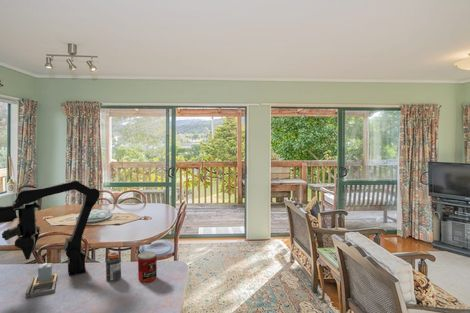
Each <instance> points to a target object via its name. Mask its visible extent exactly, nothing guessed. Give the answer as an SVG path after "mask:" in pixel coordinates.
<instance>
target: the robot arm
mask: <svg viewBox="0 0 470 313" xmlns="http://www.w3.org/2000/svg"><path fill="white" fill-rule="evenodd" d="M73 190H74V191H77V192H79V193H81V194H82V195H83V196H82V206H81V209H80V211H79V215H78V217H77V220H76V223H75V226H74V228H73V231H72V234H71V236H70V237H69V238H68V237H66V238H65V242H64V244H63V245H62V247H63V248H62V249H63V251H64V253H65V255H66V257H67V258H68V259H69V260H68V263H67V273H68V275H69V276H73V275H79V274H83V273H86V257H87V255H86V253H85V252H84V251H83V249H82V240H83V239H82V237H83V235H84V232H85V229H86V226H87V224H88V221H89V218H90V214H91V212H92V209H93V208H94V206H96V204H97V202H98V200H99V198H100V196H101V192H100V191H99V189H98V188H96V187H93V186H89V187H88V186H87V185H85V184H83V183H81V182H80V181H78V180H77V179H73V180H70V181H67V182H62V183H57V184H53V185H48V186H43V187H30V188H22V189H20V190H19V191H18V192H17V195H16V199H15V200H14V201H13V203H12V204H10V205H9V204H8V205H0V224H4V223H11V222H14V220H15V219H17V214H18V223H17V225H15V226H13V227H10V228H8V229H6V230H4V231H3V232H2V233H1V238H2V239H3V240H4V241H5V242H7V241H9V240H10V239H12V238H14V237H17V238H16V239H15V241H14V247H15V248H18V249H21V251H22V254H23V255H24V259H25V260H26V261H27V260H30V258H31V256H32V253H33V252H34V250H35V248H36V245H37V243H38V242H37V241H38V239H39V236H40V233H41V227H40V226H39V225H37V217H36V208H40V207H41V205H40V203H37V201H38V200H41V199H42V198H45V197H49V196H53V195H57V194H61V193H62V194H63V193H65V192H69V191H73Z"/></svg>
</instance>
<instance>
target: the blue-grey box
mask: <svg viewBox="0 0 470 313" xmlns="http://www.w3.org/2000/svg"><path fill="white" fill-rule="evenodd" d="M52 274H53V263H52V262H49V263H48V262H45V263H43V264H38V268H37V277H38V280H37V283H42V282H48V281H53V277H52Z"/></svg>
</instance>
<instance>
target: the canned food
mask: <svg viewBox="0 0 470 313" xmlns="http://www.w3.org/2000/svg"><path fill="white" fill-rule="evenodd" d="M137 255H138V256H137V271H138V272H137V274H138V278H137V279H138V282H140V283H141V284H150V283H153V282H154V281H155V280H156V279H157V278H158V277H157V276H158V275H157V272H158V271H157V269H158V268H157V262H158V261H157V252H156V251H151V250H149V251H147V250H146V251H143V252H140V253H139V254H137Z"/></svg>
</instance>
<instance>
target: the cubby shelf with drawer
mask: <svg viewBox="0 0 470 313" xmlns="http://www.w3.org/2000/svg"><path fill="white" fill-rule="evenodd" d="M52 278H53V279H52V281H48V282H42V283H38V276H36V277H35V275H33V276H31V277H30V279H29V282H28V285H27V288H26V290H25V298H26V299H27V298H33V297H38V296H43V295H48V294H52V293H55V289H56V284H57V278H58V274H57V273H52ZM49 286H52V287H51V288H50V289H46V290H45V289H44V290H41V291H36V292H34V291H35V289H40V288H45V287H49Z"/></svg>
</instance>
